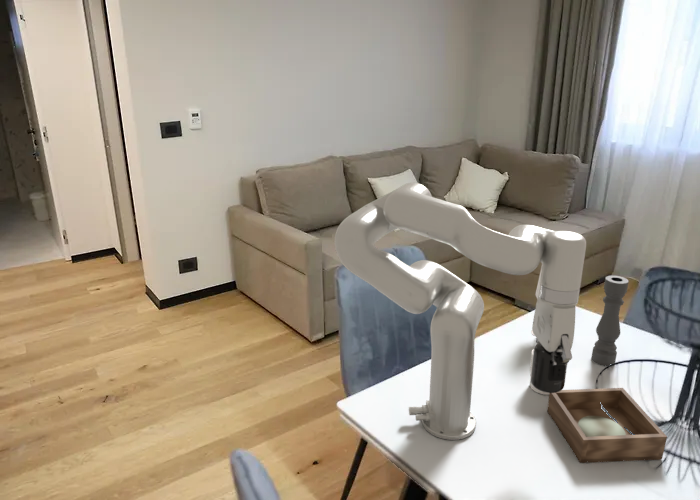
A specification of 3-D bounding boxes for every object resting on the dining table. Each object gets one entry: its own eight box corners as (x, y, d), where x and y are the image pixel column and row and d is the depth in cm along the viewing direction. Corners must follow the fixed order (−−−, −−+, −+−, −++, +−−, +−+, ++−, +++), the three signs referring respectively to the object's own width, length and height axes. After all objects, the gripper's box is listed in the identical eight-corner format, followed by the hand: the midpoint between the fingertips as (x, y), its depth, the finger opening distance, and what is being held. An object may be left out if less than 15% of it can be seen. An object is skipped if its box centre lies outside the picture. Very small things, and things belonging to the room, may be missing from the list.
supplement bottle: (559, 376, 120) (566, 327, 115) (567, 395, 113) (575, 344, 109) (527, 374, 120) (532, 326, 116) (533, 393, 114) (540, 342, 110)
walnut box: (580, 463, 117) (583, 440, 115) (547, 411, 134) (549, 390, 132) (661, 459, 118) (667, 436, 116) (618, 408, 135) (622, 387, 132)
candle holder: (618, 366, 153) (634, 284, 144) (596, 366, 153) (610, 284, 144) (609, 355, 158) (623, 275, 150) (587, 354, 159) (600, 275, 150)
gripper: (525, 276, 118) (517, 349, 124) (557, 312, 101) (546, 394, 107) (559, 275, 118) (550, 348, 124) (597, 311, 102) (584, 393, 108)
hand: (548, 369), depth 116 cm, fingers closed on supplement bottle, 6 cm apart
